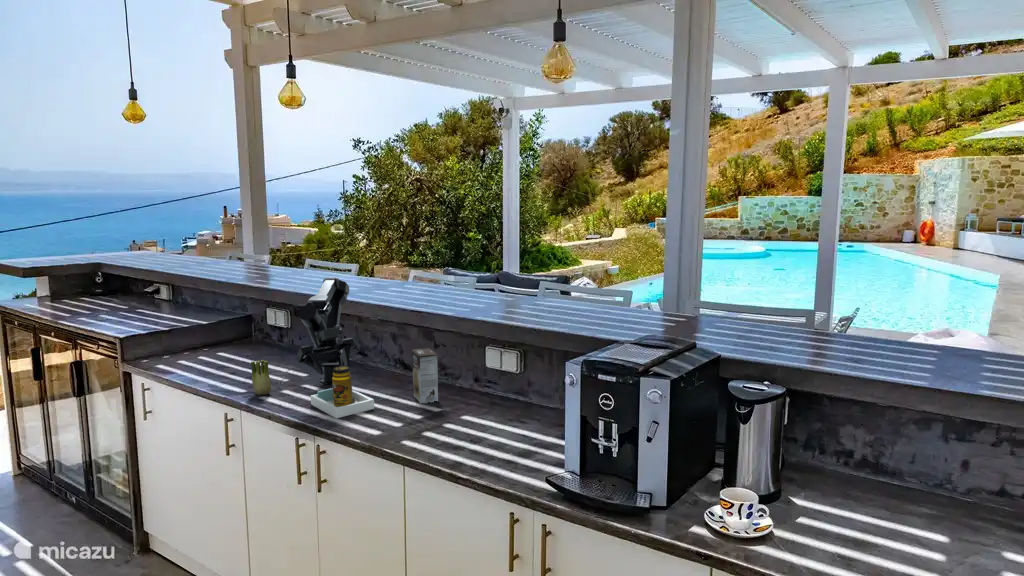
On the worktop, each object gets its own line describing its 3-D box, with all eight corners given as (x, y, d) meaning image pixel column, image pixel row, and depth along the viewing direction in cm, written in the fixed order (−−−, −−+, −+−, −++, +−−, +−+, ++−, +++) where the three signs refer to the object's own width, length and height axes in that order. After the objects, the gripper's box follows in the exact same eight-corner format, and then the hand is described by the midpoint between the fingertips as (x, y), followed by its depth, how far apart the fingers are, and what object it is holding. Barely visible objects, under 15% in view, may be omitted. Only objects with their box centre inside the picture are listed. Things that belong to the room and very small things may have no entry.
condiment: (332, 409, 204) (330, 372, 202) (331, 400, 212) (329, 365, 210) (356, 406, 206) (354, 369, 204) (353, 398, 214) (352, 363, 212)
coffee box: (412, 396, 218) (411, 349, 216) (431, 393, 220) (429, 347, 218) (419, 404, 210) (418, 355, 207) (439, 401, 212) (437, 353, 210)
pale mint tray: (309, 403, 212) (309, 394, 211) (346, 395, 220) (345, 386, 220) (336, 418, 197) (335, 408, 197) (374, 408, 206) (373, 399, 205)
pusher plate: (317, 402, 210) (317, 391, 210) (346, 395, 217) (345, 385, 216) (319, 403, 210) (318, 392, 209) (347, 396, 216) (347, 385, 215)
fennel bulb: (251, 395, 222) (248, 361, 220) (262, 391, 226) (260, 357, 224) (263, 397, 219) (260, 363, 217) (274, 393, 223) (272, 359, 221)
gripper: (298, 322, 205) (315, 363, 198) (351, 314, 217) (369, 352, 210) (289, 342, 212) (306, 382, 205) (341, 333, 224) (359, 370, 217)
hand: (336, 371), depth 209 cm, fingers open, 9 cm apart
